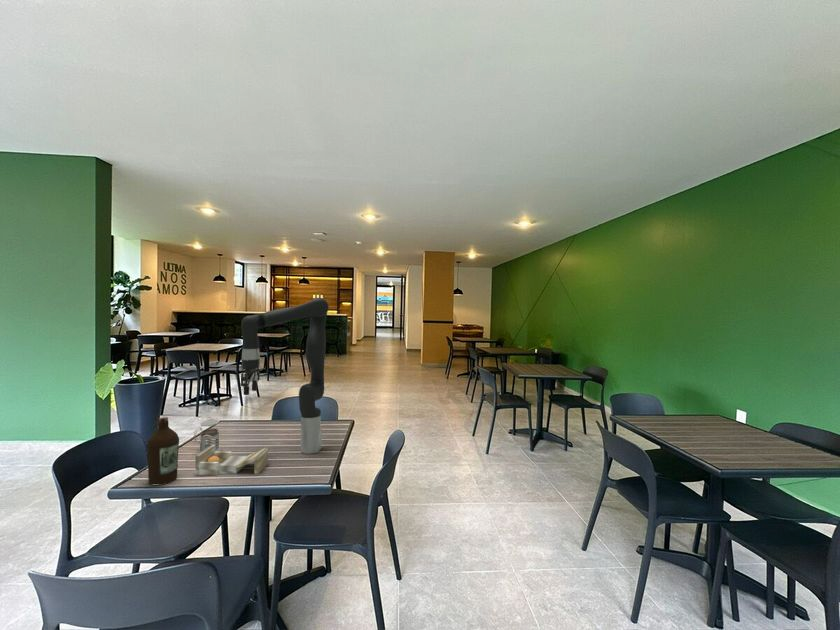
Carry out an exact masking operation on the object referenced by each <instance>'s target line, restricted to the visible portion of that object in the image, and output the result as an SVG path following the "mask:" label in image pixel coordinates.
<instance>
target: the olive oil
mask: <svg viewBox="0 0 840 630" xmlns="http://www.w3.org/2000/svg"><path fill="white" fill-rule="evenodd" d="M157 423H158V425H157V426H158V427H157V429H156V430H155V431H154V432H153V433H152V434H151V435H150V436H149V437H148V440H147V442H146V452H147V454H146V456H147V469H148V470H147V473H148V478H147V479H148V484H149V485H150V484H163V485H165V484H164V483H167V484H169V483H168V482H170V483H172V482H174V481H175V480H177V479H178V468H179V463H178V461H179V447H180V437H179V435H178V433H177V432H176V431H174V430H173V429H172V428H170V426H169V417H167V416H165V417H160V418H158V422H157ZM173 480H174V481H173ZM171 481H172V482H171Z"/></svg>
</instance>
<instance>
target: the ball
mask: <svg viewBox="0 0 840 630" xmlns="http://www.w3.org/2000/svg"><path fill="white" fill-rule="evenodd" d="M207 462H219V464H220V459H219V458H218V457H217V456H212V457H210V458H209V459H208V461H207Z"/></svg>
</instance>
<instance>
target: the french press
mask: <svg viewBox="0 0 840 630" xmlns="http://www.w3.org/2000/svg"><path fill="white" fill-rule="evenodd" d="M207 403H209V404H211V403H213V400H212V399H208V400H207ZM219 424H220V421H219V419H215V418H209V419H206V420H204V421H202V422H200V426H201V427H200V426H199V427H198V428H197V430H194V432H193V439H194V441H195V442H196V443H198V444H199V451H198V452H197V455H198V454H199V453H201V452H202V451H204V450H205V449H207V448H208V447H210V446H211V445H215V451H216V452H221V450H222V448H221V447H220V432H219V429H217V428H209V429H208V428H207V429H204V430H203V428H202V427H211V426H216V425H219ZM199 430H200V431H201V432H200V433H201V434H200V441H198V440H197V439H196V437H197V436H196V435H197V434H198V431H199Z"/></svg>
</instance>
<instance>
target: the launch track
mask: <svg viewBox="0 0 840 630" xmlns="http://www.w3.org/2000/svg"><path fill="white" fill-rule="evenodd" d="M210 445H211V446H210V447H208V448H207V449H205V450H204V451H202V452H201V453H199V454H198V453H197V454H196V455H195V458H194V459H195V460H194V461H195V466H194V467H195V468H194V469H195V472H194V473H195V476H218V475H237V474H238V473H239V472H240V471H241V470H242V469H243V468H244V467H246V466H247V465H248V464H250V463H253V462H254V463H253V465H254V470H253V471H254V474H253V475H259V474H260V473H261V472H262V471H263V470H264V469H265V467H267V466H268V464H269V462H268V461H269V460H268V459H269V448H268V447H264V448H262V449H260V450H258V451H255V452H252V453H251V454H249V455H233V451H219V452H216V451H215V444H210ZM212 456H217V457H218V458H219V459H220V464H219V462H207V461H208V459H209V458H210V457H212Z"/></svg>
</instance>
